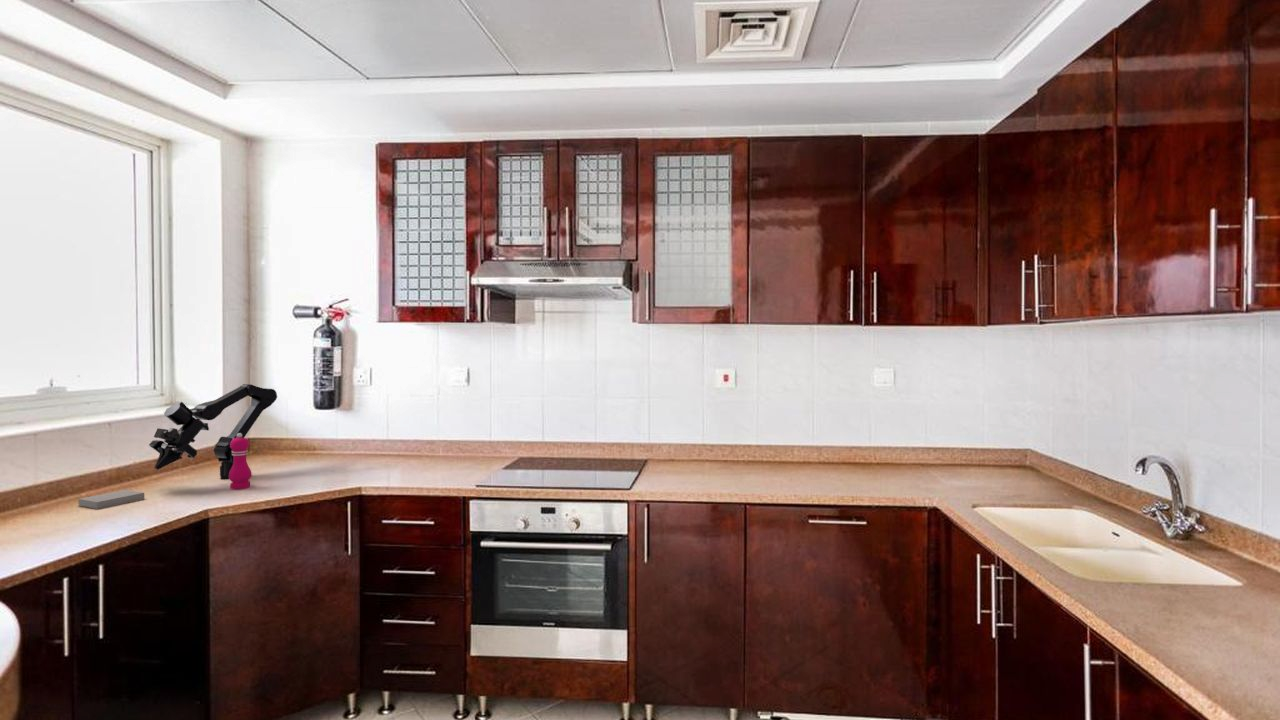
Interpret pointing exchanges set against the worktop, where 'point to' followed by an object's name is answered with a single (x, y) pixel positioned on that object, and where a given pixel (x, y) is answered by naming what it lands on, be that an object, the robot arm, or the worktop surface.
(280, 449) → the worktop surface
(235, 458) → the pepper mill
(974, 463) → the worktop surface
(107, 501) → the tile
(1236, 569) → the worktop surface
